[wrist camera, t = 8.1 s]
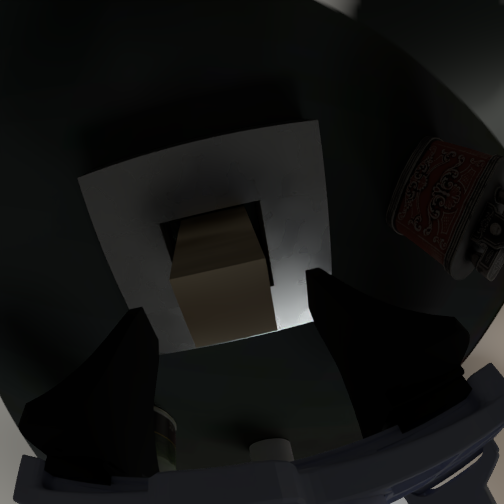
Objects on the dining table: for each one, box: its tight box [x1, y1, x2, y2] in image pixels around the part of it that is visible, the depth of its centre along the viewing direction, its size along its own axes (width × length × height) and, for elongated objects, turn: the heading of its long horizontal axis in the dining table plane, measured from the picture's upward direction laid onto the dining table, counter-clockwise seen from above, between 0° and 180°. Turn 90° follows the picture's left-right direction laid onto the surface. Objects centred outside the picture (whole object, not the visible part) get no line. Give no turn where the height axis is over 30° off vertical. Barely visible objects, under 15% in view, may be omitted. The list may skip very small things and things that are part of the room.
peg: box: [169, 206, 278, 348], centre depth 16 cm, size 4×4×7 cm
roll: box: [249, 438, 294, 462], centre depth 28 cm, size 6×12×6 cm
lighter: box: [386, 136, 504, 281], centre depth 14 cm, size 8×3×10 cm, turn 156°
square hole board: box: [78, 119, 332, 355], centre depth 18 cm, size 13×13×2 cm
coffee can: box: [154, 406, 177, 472], centre depth 20 cm, size 10×10×14 cm
